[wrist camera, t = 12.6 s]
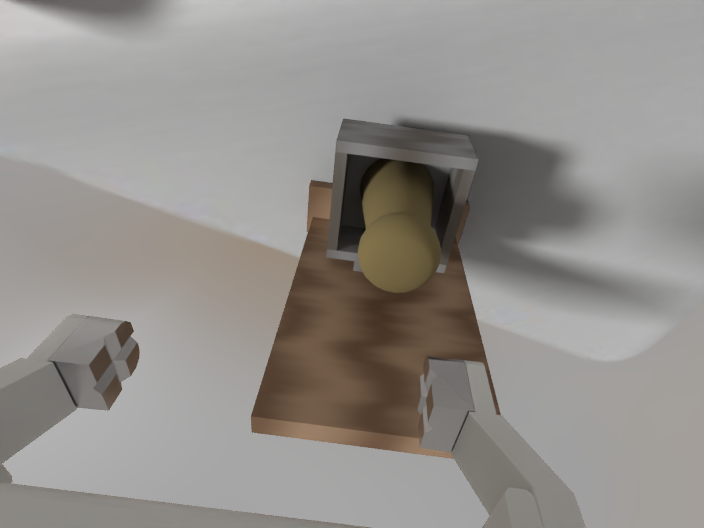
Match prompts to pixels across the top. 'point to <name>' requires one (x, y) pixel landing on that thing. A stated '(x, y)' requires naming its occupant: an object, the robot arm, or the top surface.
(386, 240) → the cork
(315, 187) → the cup bracket
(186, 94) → the top surface
